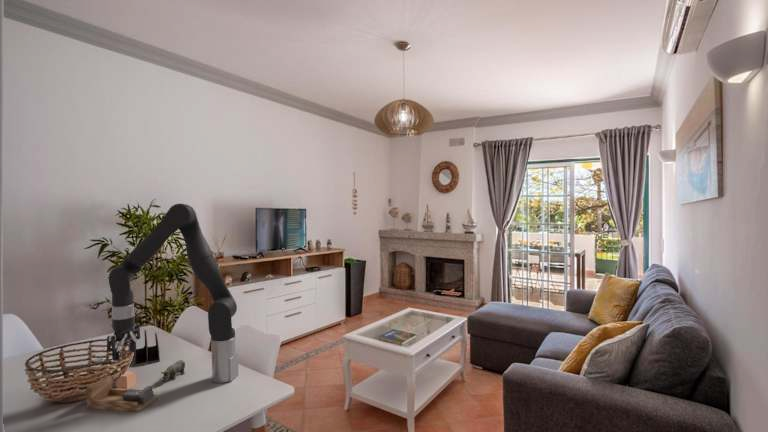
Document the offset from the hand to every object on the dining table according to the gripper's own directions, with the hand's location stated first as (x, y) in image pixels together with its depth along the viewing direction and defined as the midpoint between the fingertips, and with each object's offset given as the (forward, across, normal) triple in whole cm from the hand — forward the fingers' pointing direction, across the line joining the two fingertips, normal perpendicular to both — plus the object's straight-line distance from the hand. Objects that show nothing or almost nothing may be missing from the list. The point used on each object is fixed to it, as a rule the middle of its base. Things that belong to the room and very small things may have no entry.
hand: (124, 355), depth 157 cm
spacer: (+13, 0, 0) cm, 13 cm away
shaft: (+11, -12, -14) cm, 21 cm away
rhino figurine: (+13, +8, -14) cm, 21 cm away
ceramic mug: (+13, +9, +12) cm, 19 cm away
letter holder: (+13, +27, +12) cm, 33 cm away
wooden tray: (+12, -12, -8) cm, 19 cm away
